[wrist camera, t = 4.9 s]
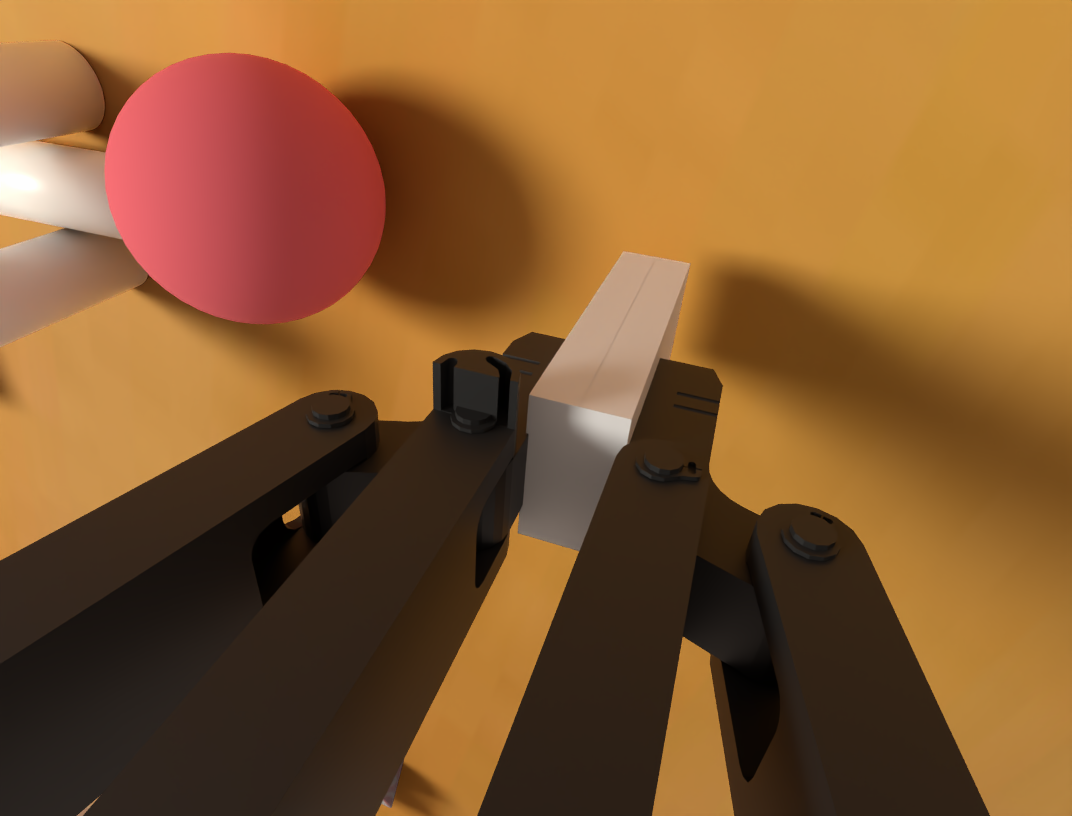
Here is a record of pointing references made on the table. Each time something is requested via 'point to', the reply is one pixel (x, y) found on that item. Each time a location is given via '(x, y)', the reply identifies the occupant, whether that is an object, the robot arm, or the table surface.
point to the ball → (245, 188)
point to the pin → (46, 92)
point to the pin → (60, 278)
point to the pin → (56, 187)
